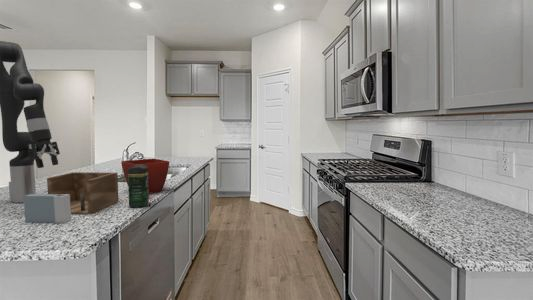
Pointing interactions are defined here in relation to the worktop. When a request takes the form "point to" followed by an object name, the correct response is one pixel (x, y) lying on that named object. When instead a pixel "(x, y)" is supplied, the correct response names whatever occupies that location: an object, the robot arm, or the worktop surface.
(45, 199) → the grey rectangular block
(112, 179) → the open wooden box
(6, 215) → the worktop surface
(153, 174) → the plant pot
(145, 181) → the coffee jar
